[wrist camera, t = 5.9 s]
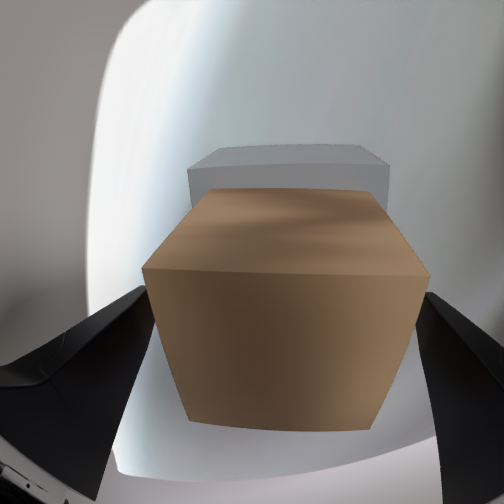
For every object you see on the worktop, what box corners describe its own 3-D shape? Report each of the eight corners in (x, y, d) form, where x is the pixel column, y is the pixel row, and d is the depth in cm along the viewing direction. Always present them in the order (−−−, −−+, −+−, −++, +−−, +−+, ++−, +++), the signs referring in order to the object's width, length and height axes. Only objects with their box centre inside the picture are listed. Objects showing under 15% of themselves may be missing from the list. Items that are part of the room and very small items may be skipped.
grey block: (359, 145, 14) (389, 165, 9) (353, 269, 17) (369, 326, 12) (219, 148, 15) (186, 169, 10) (232, 269, 18) (212, 325, 13)
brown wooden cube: (368, 190, 10) (430, 275, 5) (351, 317, 12) (369, 429, 7) (210, 188, 10) (141, 268, 6) (223, 313, 13) (189, 420, 8)
